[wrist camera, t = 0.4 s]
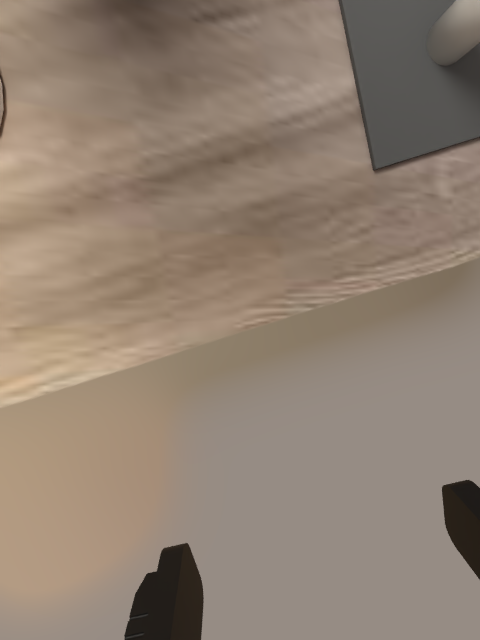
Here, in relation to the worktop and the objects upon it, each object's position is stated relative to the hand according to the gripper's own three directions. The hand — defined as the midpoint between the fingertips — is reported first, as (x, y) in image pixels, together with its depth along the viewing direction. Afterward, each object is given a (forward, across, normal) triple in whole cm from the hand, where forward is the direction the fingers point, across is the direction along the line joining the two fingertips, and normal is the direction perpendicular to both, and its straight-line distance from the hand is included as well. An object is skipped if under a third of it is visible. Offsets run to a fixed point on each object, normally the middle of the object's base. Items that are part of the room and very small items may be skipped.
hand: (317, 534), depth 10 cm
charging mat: (+31, -27, -23) cm, 47 cm away
